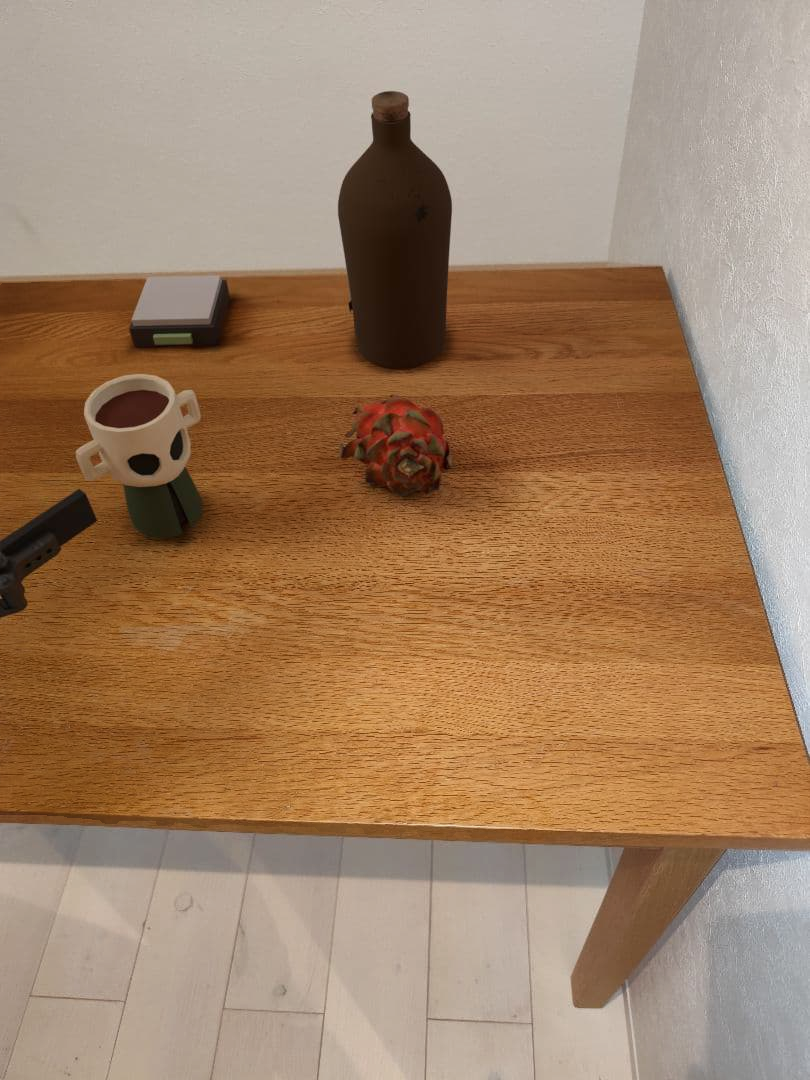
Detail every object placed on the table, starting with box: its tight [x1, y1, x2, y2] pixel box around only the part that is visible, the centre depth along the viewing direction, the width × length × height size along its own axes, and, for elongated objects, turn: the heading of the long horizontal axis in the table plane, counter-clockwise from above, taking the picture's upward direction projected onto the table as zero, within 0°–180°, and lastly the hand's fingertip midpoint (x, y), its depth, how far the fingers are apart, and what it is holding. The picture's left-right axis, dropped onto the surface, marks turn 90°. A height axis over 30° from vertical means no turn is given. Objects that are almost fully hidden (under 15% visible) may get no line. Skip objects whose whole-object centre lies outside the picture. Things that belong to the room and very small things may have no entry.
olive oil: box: [337, 90, 453, 370], centre depth 85 cm, size 11×11×25 cm
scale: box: [128, 274, 231, 348], centre depth 97 cm, size 9×10×3 cm
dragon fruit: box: [338, 393, 455, 498], centre depth 79 cm, size 8×8×12 cm
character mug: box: [75, 373, 204, 540], centre depth 74 cm, size 11×7×13 cm, turn 133°
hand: (33, 462), depth 64 cm, fingers open, 13 cm apart
